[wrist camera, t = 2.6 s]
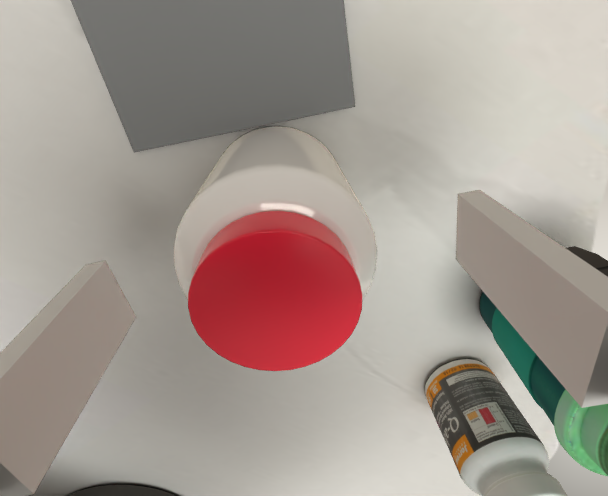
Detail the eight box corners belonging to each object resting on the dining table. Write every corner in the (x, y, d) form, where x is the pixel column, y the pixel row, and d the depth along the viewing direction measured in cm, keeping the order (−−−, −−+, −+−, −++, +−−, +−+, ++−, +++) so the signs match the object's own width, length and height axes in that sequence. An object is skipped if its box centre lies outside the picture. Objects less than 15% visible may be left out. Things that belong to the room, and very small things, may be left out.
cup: (458, 337, 27) (574, 515, 16) (458, 247, 23) (609, 402, 12) (564, 316, 27) (753, 484, 16) (582, 221, 23) (846, 358, 12)
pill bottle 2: (414, 371, 28) (474, 508, 20) (483, 346, 27) (578, 477, 19) (432, 411, 31) (492, 549, 22) (496, 389, 30) (585, 524, 21)
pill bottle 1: (369, 197, 21) (444, 311, 11) (276, 272, 23) (273, 422, 13) (281, 93, 18) (281, 127, 8) (183, 190, 20) (94, 307, 10)
